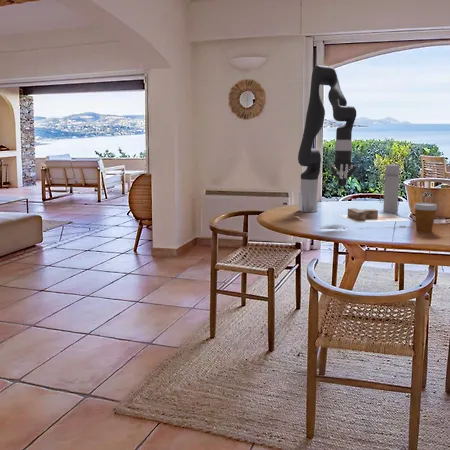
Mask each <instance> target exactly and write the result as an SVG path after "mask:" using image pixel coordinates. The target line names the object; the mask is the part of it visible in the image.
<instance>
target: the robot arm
mask: <svg viewBox="0 0 450 450" xmlns="http://www.w3.org/2000/svg"><path fill="white" fill-rule="evenodd" d="M320 85H321V86H329V87H330V89H329V91H328V95H327V98H328V101H329V102H330V105H331V107H332V117H333V119H334V120H335V121H336V122H345V124H344V125H342V126H339V127H337V128H336V131H335V132H336V135H335V147H334V161H333V164H332V165H329V166H328V169H329V170H330V172H331V173H332V175H333V176H334V178H337V185H338V186H339V187H346V186H347V179H348V178H351V176H352V175H353V174H354V171H355V170H356V169H357V166H356V165H354V164H353V163H352V149H353V145H352V135H353V134H352V133H353V132H352V131H353V127H354V124H355V121H356V118H357V109H356V107H354V106H353V105H348V102H347V99H346V97H345V95H344V94H343V92H342V88H341V86H340V81H339V78H338V74H337V71H336V69H335V68H334V67H333V66H328V65H315V66H314V67H313V69H312V73H311V80H310V90H309V97H308V98H309V99H308V105H307V111H306V116H305V122H304V129H303V132H302V133H303V134H302V139H301V141H300V142H301V143H300V147H299V150H298V155H297V161H298V164H299V165H300V166H301V167H306V169H305V170H304V171H302V172H301V174H300V188H299V193H298V211H300V212H302V213H314V212H316V213H317V212H318V195H319V194H318V193H319V192H318V191H319V175H320V173H321V163H322V158H321V157H322V155H321V151H320V150H319V149H318V148H313V143H314V141H315V138H316V137H317V135H318V134H319V132H320V131H321V129H322V128H323V125H324V122H325V116H326V110H325V106H324V104H323V102H322V99H321V96H320ZM335 169H336V170H335Z"/></svg>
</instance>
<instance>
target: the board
mask: <svg viewBox="0 0 450 450" xmlns="http://www.w3.org/2000/svg"><path fill="white" fill-rule="evenodd" d="M338 216H339V217H341V218H343V219H346V220H348V221H350V222H352V223H354V224H355V223H381V222H383V223H384V222H410V221H411V220H410V219H407V218H404V217H401V216H398V215H395V214H394V213H378V219H366V220H365V221H357V220H354V219H352V218H350V217H348V214H345V215H344V214H341V215H338Z"/></svg>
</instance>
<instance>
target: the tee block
mask: <svg viewBox="0 0 450 450" xmlns="http://www.w3.org/2000/svg"><path fill="white" fill-rule="evenodd" d="M378 214H379V210H377V209H376V208H371V209H367V208H364V209H358V208H356V207H355V208H351V207H350V208H347V215H348V217H350V218H352V219H354V220H357V221H365V220H366V219H378Z"/></svg>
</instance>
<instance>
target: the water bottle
mask: <svg viewBox="0 0 450 450" xmlns="http://www.w3.org/2000/svg"><path fill="white" fill-rule="evenodd" d="M384 169H385V171H384V174H383V175H382V176H383V179H382V180H384V183H382V185H381V186H382V189H380V190H381V191H380V192H382V190H383V194H380V196H379V198H381V196H382V201H381V200H379V201H380V202H379V203H380V204H382V203H383V208H382V209H383V210H382V211H385V212H389V213H390V214H396V213H398V208H399V207H398V206H399V205H398V204H399V188H400V172H401V171H400V165H399V164H386V165H385V168H384Z"/></svg>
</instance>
